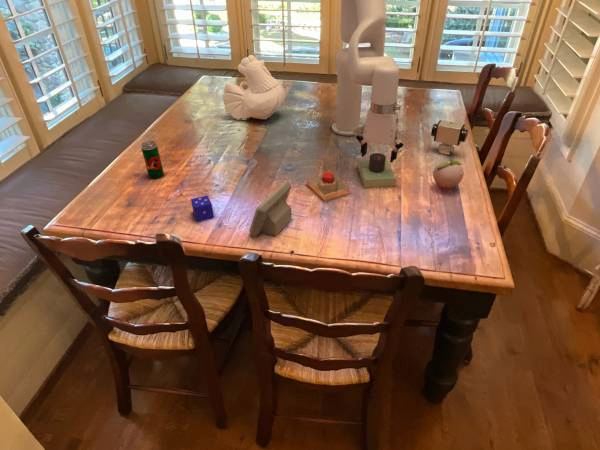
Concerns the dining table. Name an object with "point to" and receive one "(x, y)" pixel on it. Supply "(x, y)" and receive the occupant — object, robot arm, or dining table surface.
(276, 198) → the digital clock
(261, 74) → the decorative rooster
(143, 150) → the soda can
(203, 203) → the die
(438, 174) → the decorative fruit
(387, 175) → the dial panel
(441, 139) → the pneumatic valve
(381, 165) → the dial knob
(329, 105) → the dining table surface
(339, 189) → the button box
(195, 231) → the dining table surface
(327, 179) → the button
